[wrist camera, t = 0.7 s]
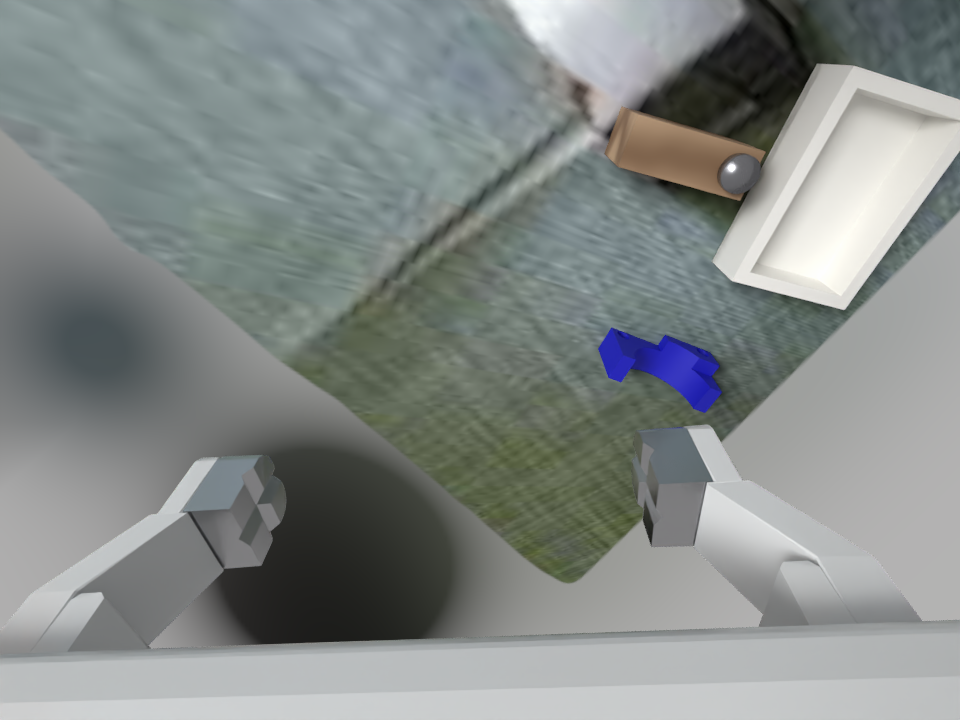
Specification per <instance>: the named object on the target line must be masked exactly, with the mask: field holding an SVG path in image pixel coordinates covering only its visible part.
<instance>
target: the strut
mask: <svg viewBox="0 0 960 720" xmlns="http://www.w3.org/2000/svg"><path fill="white" fill-rule="evenodd" d="M765 153H766V152H765V151H762V150H760V149H757V148H755V147H752V146H750V145H747V144H744V143H742V142H739V141H737V140H734V139H730V138H727V137H724V136H720V135H717V134H713V133H710V132H706V131H703V130H700V129H696V128H693V127H689V126H686V125H683V124H679V123H676V122H672V121H669V120H666V119H662V118H659V117H655V116H652V115H649V114H645V113H642V112H638V111H635V110H632V109H628V108H625V107H621V110H620V112H619V115H618V118H617V121H616V123H615V126H614V129H613V132H612V134H611V137H610V140H609V143H608V145H607V148H606V151H605V155H606V156H607V157H608V158H610V159H611V160H612V161H613V162H614V163H615V164H616V165H617V166H618V167H620V168H624V169H628V170H631V171H635V172H638V173H642V174H645V175H649V176H653V177H656V178H660V179H663V180H667V181H671V182H674V183H678V184H681V185H685V186H689V187H692V188H696V189H699V190H703V191H706V192H710V193H714V194H717V195H721V196H724V197H728V198H732V199H735V200H739V201H740V200H741V198H742V196H743V194H744V192H746V191H748V190H749V189H751V188H752V187H753V186H754V185H755V184H756V182H757V181H758V179H759V177H760V173H761V166H760V162H761V160H762V158H763V156H764V154H765Z"/></svg>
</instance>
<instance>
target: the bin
mask: <svg viewBox="0 0 960 720" xmlns="http://www.w3.org/2000/svg"><path fill="white" fill-rule="evenodd" d="M959 151H960V100H959V99H956V98H953V97H950V96H947V95H944V94H940V93H937V92H934V91H931V90H928V89H925V88H922V87H919V86H916V85H913V84H909V83H906V82H903V81H900V80H897V79H894V78H891V77H888V76H885V75H881V74H878V73H875V72H872V71H869V70H866V69H863V68H860V67H857V66H852V65H833V64H816V66H815V68H814V70H813V72H812V74H811V76H810V78H809V80H808V81H807V83H806V85H805V87H804V89H803V91H802V93H801V95H800V96H799V98H798V100H797V102H796V104H795V106H794V108H793V110H792V112H791V113H790V115H789V117H788V119H787V121H786V123H785V125H784V127H783V128H782V130H781V132H780V134H779V136H778V138H777V140H776V142H775V144H774V145H773V147H772V149H771V151H770V153H769V155H768V157H767V159H766V160H765V162H764V164H763V166H762V168H761V173H760V177H759V179H758V181H757V182H756V184H755V185H754V186H753V187H752V188H751V189H750V191H749V192H748V194H747V196H746V198H745V200H744V202H743V204H742V206H741V207H740V209H739V211H738V213H737V215H736V217H735V219H734V221H733V223H732V224H731V226H730V228H729V230H728V232H727V234H726V236H725V238H724V239H723V241H722V243H721V245H720V247H719V249H718V251H717V253H716V255H715V256H714V258H713V260H712V262H713V263H714V264H715V265H716V266H717V267H718V268H719V269H720V270H721V271H722V272H723V273H724V274H725V275H726V276H727V277H728V278H729V279H730V280H731V281H734V282H738V283H741V284H745V285H749V286H753V287H757V288H761V289H765V290H769V291H772V292H776V293H780V294H784V295H788V296H792V297H796V298H800V299H803V300H807V301H811V302H815V303H819V304H823V305H827V306H830V307H834V308H838V309H842V310H845V309H846V307H847V306H848V305H849V303H850V302H851V300H852V299H853V298H854V296H855V295H856V293H857V292H858V291H859V289H860V288H861V287H862V285H863V284H864V282H865V281H866V280H867V278H868V277H869V276H870V274H871V273H872V271H873V270H874V269H875V267H876V266H877V264H878V263H879V262H880V260H881V259H882V258H883V256H884V255H885V253H886V252H887V251H888V249H889V248H890V247H891V245H892V244H893V242H894V241H895V240H896V238H897V237H898V236H899V234H900V233H901V231H902V230H903V229H904V227H905V226H906V224H907V223H908V222H909V220H910V219H911V218H912V216H913V215H914V213H915V212H916V211H917V209H918V208H919V207H920V205H921V204H922V202H923V201H924V200H925V198H926V197H927V195H928V194H929V193H930V191H931V190H932V189H933V187H934V186H935V184H936V183H937V182H938V180H939V179H940V178H941V176H942V175H943V173H944V172H945V171H946V169H947V168H948V166H949V165H950V164H951V162H952V161H953V160H954V158H955V157H956V155H957V154H958V153H959Z"/></svg>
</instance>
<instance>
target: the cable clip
mask: <svg viewBox="0 0 960 720" xmlns="http://www.w3.org/2000/svg"><path fill="white" fill-rule="evenodd" d="M598 349H599V352H600V355H601V358H602V361H603V363H604V366H605V369H606V372H607V375H608V378H611V379H613V380H616V381H619V382H622V380H623V379H624V377H625V376H626V374H627V373H628V371H629V370H630V369H637V370H641V371H644V372H647V373H650V374H652V375H654V376H656V377H658V378H660V379H662V380H663V381H665V382H667V383H668V384H669V385H671V386H672V387H674V388H675V389H676V390H677V391H679V392H680V393H681V394H682V395H683V396H684V397H685V398H686V399H687V400H688V402H689V403H690V404H691V406H692V407H693V409H696V410H699V411H701V412H704V413H705V412H706V411H707V410H708V409H709V408H710V406H711V405H712V404H713V403H714V402H715V400H716V399H717V398H718V397H719V396H720V394H721V393H722V391H721V390H720V388H719V387H718V385H717V384H716V382H715V381H714V379H713V378H712V375H713V374H714V373H715V371H716V370H717V369H718V368H719V364H718V363H717V361H716V360H715V359H714V357H713V356H712V354H711V353H710V352H708V351H705V350H703V349H700V348H697V347H695V346H692V345H690V344H687V343H685V342H682V341H680V340H677V339H675V338H672V337H669V336H667V335H665V336H664V337H663V339H662V340H661V342H660V343H659V345H655V344H653V343H650V342H648V341H645V340H642V339H640V338H637V337H635V336H632V335H630V334H627V333H624V332H622V331H619V330H617V329H614V328H611V329H610V331H609V333H608V334H607V336H606V337H605V339H604V341H603V342H602V344H601V345H600V347H599V348H598Z"/></svg>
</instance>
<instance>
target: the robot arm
mask: <svg viewBox="0 0 960 720" xmlns="http://www.w3.org/2000/svg"><path fill="white" fill-rule="evenodd" d="M633 446H634V448H635V451H636V454H637V455H636V456H635V457H634V458H633V459H632V469H631V473H632V484H633V489H634V494H635V497H636V500H637V503H638V504H639V505H640V506H641V507H643V508H644V512H643V523H644V526H645V529H646V532H647V535H648V538H649V541H650V544H651V547H670V546H694V549H695V550H696V551H697V552H699V553H700V554H701V555H702V556H703V557H704V558H705V559H706V560H707V561H708V562H709V563H710V564H711V565H712V566H713V567H714V568H715V569H716V570H717V571H718V572H719V573H721V574H722V575H723V576H724V577H725V578H726V579H727V580H728V581H729V582H730V583H731V584H732V585H733V586H734V587H735V588H736V589H737V590H738V591H739V592H740V593H741V594H742V595H744V596H745V597H746V598H747V599H748V600H749V601H750V602H751V603H752V604H753V605H754V606H755V607H756V608H757V609H758V610H759V611H760V612H761V613H762V614H763V616H762V619H761V622H760V624H759V627H746V628H718V629H690V630H663V631H634V632H633V631H632V632H605V633H579V634H578V633H577V634H551V635H526V636H525V635H524V636H499V637H471V638H445V639H444V638H443V639H413V640H386V641H355V642H326V643H299V644H270V645H243V646H214V647H189V648H188V647H187V648H159V649H158V648H157V649H151V648H150V647H149V646H148V645H149V644H150V643H151V642H152V641H153V640H154V639H155V638H156V637H157V636H158V635H159V634H160V633H161V632H162V631H163V630H164V629H165V628H166V627H167V626H168V625H169V624H170V623H171V622H172V621H173V620H174V619H175V618H176V617H177V616H178V615H179V614H180V613H182V611H183V610H184V609H185V608H186V607H188V605H190V604H191V603H192V602H193V601H194V600H195V599H196V598H197V597H198V596H199V594H201V593H202V592H203V591H204V590H205V589H206V588H207V587H208V586H209V585H210V584H211V583H212V582H213V581H214V580H215V579H216V578H217V577H218V576H219V575H220V574H221V572H223V569H224V568H238V567H251V566H261V565H262V563H263V560H264V558H265V556H266V553H267V551H268V549H269V547H270V545H271V543H272V540H273V539H272V536H271V534H270V531H271V530H272V529H273V528H275V527H276V526H277V525H278V524H279V523H280V522H281V520H282V517H283V515H284V513H285V506H286V494H285V489H284V486H283V484H282V482H281V481H280V480H279V479H277V478H276V477H274V476H273V475H272V473H273V470H274V468H275V466H274V465H273V463H272V460H271V458H270V457H269V456H266V455H250V456H225V457H213V458H201V459H199V460H197V461H196V462H195V463H194V464H193V465H192V467H191V468H190V469H189V471H188V472H187V474H186V475H185V476H184V478H183V480H182V481H181V482H180V483H179V485H178V486H177V487H176V489H175V490H174V492H173V493H172V494H171V496H170V497H169V499H168V500H167V501H166V503H165V504H164V506H163V507H162V508H161V510H160V511H159V513H158V514H154V515H153V514H152V515H149V516H148V517H146V518H145V519H143V520H142V521H140V522H139V523H137V524H136V525H134V526H133V527H131V528H130V529H128V530H127V531H125V532H123V533H122V534H121V535H119V536H117V537H116V538H115V539H113V540H111V541H110V542H108V543H107V544H105V545H104V546H103V547H101V548H99V549H98V550H96V551H95V552H93V553H92V554H90V555H89V556H87V557H86V558H84V559H83V560H81V561H80V562H78V563H77V564H75V565H74V566H72V567H71V568H69V569H68V570H66V571H65V572H63V573H62V574H60V575H59V576H57V577H56V578H54V579H53V580H51V581H50V582H48V583H47V584H45V585H44V586H42V587H41V588H39V589H38V590H36V591H35V592H33V593H32V594H31V595H30V596H29V597H28V598H27V599H26V601H25V602H24V603H23V604H22V605H21V606H20V608H19V609H18V610H17V611H16V613H15V614H14V615H13V616H12V617H11V618H10V620H9V621H8V622H7V623H6V624H5V626H4V627H3V628H2V629H1V630H0V720H960V620H945V621H944V620H943V621H922V620H921V619H920V617H919V616H918V615H917V613H916V612H915V611H914V609H913V608H912V607H911V605H910V604H909V602H908V601H907V600H906V598H905V597H904V596H903V595H902V593H901V592H900V590H899V589H898V588H897V586H896V585H895V584H894V583H893V581H892V580H891V578H890V577H889V576H888V574H887V573H886V572H885V570H884V569H883V568H882V566H881V565H880V563H879V562H878V561H877V559H876V558H875V557H874V556H873V555H871V554H870V553H868V552H866V551H865V550H863V549H862V548H860V547H858V546H857V545H855V544H853V543H852V542H850V541H849V540H847V539H845V538H844V537H842V536H841V535H839V534H837V533H836V532H834V531H832V530H831V529H829V528H828V527H826V526H824V525H823V524H821V523H819V522H818V521H816V520H814V519H813V518H811V517H810V516H808V515H806V514H805V513H803V512H801V511H800V510H798V509H797V508H795V507H793V506H792V505H790V504H788V503H787V502H785V501H784V500H782V499H780V498H779V497H777V496H776V495H774V494H772V493H771V492H769V491H767V490H765V489H764V488H762V487H761V486H759V485H757V484H756V483H754V482H753V481H751V480H746V481H743V479H742V478H741V476H740V474H739V473H738V471H737V469H736V467H735V466H734V464H733V462H732V461H731V459H730V457H729V456H728V454H727V452H726V450H725V449H724V447H723V445H722V443H721V442H720V440H719V438H718V437H717V435H716V433H715V431H714V430H713V428H712V427H711V426H709V425H697V426H685V427H677V428H663V429H649V430H636V431H635V434H634V441H633Z"/></svg>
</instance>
